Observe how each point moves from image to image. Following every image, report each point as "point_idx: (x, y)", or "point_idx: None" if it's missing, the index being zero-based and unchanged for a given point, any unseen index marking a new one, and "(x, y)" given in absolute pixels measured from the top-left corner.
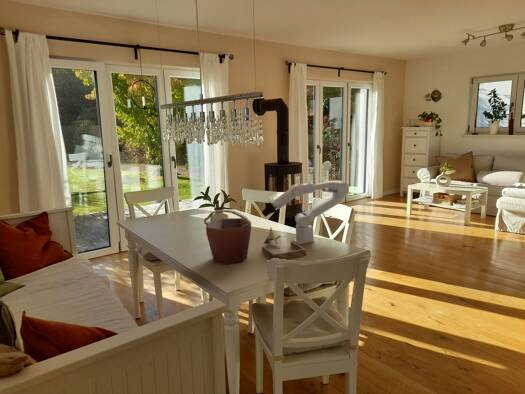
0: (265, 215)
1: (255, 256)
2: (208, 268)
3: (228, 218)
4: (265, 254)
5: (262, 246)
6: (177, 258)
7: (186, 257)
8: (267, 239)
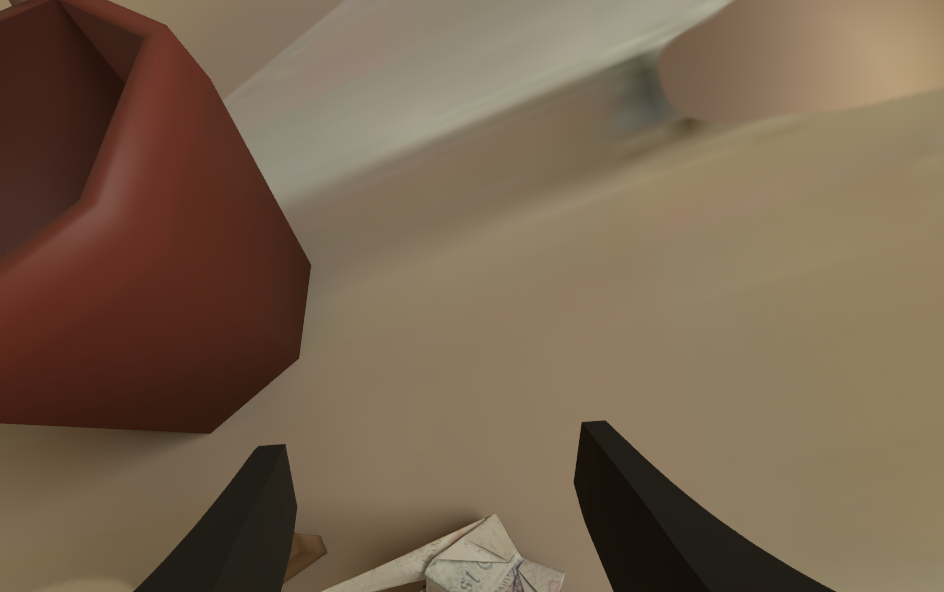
0: (580, 495)
1: None
2: None
3: (143, 73)
4: None
5: (294, 540)
6: (265, 69)
7: (273, 97)
8: (385, 581)
